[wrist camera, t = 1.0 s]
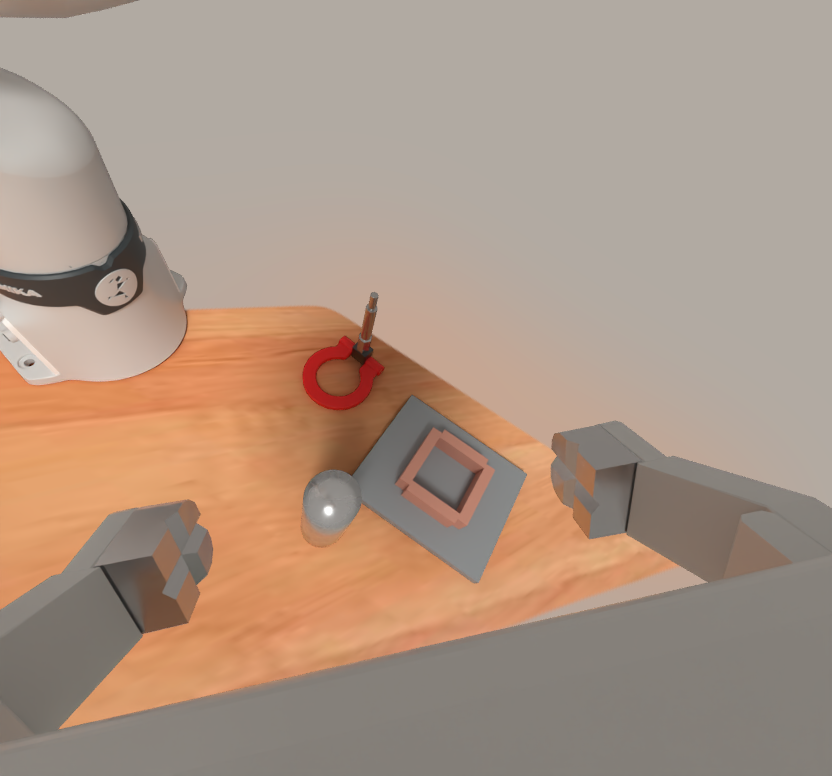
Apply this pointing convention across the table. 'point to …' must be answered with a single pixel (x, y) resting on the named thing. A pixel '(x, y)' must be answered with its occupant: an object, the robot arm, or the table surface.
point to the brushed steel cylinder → (329, 507)
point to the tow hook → (343, 351)
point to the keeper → (440, 487)
